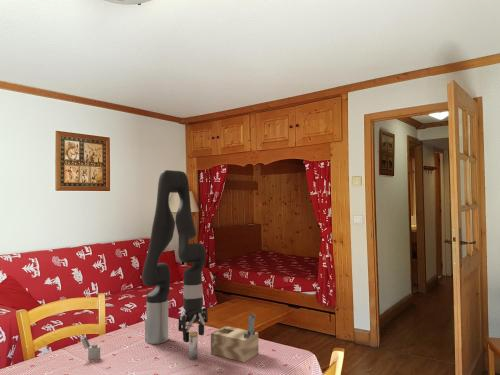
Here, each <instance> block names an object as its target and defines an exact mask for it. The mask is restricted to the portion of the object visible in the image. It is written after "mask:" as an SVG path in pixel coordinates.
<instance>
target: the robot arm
mask: <svg viewBox="0 0 500 375" xmlns="http://www.w3.org/2000/svg"><path fill="white" fill-rule="evenodd" d="M157 182H158V183H157V195H156V204H155V211H154V217H153V222H152V227H151V234H150V240H149V245H148V250H147V254H146V257H145V261H144V265H143V268H142V276H141V277H142V283H143V284H144V285H145V286H146V287H153V286H155V287H154V289H153V290H151V291H150V292H148V293H147V294H146V299H145V300H146V317H145V318H144V341H146V343H147V344H150V345H158V344H164V343H166V342H167V341H169V295H170V290H171V289H170V287H171V285H170V284H171V269H170V267H169V265H168V263H166V262H159V260H160V257H161V255H162V254H163V253H164V252H165V250H166V248H167V247H168V246H169V245H170V243H171V242H172V240H173V238H174V232H175V227H176V230H177V234H178V250H177V251H178V253H177V254H178V257H179V260H180V261H181V262H182V263H187V264H188V263H191V266H190V267H188V268H185V269H184V270H183V290H182V296H183V297H182V298H183V301H182V302H183V303H182V304H183V306H182V307H183V309H184V311H185V312H184V314H179V315H178V327H177V328H178V332H182V341H183V342H184V343H189V332H190V329H191V327H192V326H193V325H194V324H195V323H197V324H198V327H197V328H198V331H197V333H198V335H199V336H204V335H205V324H206V323H208V321H209V317H208V307H207V306H204V290H203V278H202V277H203V276H202V275H203V270H204V265H205V261H206V255H207V253H206V252H207V251H206V248H205V246H204V244H203V243H201V242H200V243H199V242H198V243H189V240H193V239H194V238H195V237H197V230H196V227H195V222H194V218H193V214H192V208H191V194H190V184H189V179H188V176H187V174H186V172H184V171H181V170H170V169H165V170H162V171H161V173H160V175H159V178H158V181H157ZM171 193H172V194H173V193H175V194H176V193H177V195H178V198H179V204H178V208H177V210H176V214H175V217H174V215H173V213H172V211H171V208H170V204H169V203H170V202H169V201H170V200H169V199H170V195H171Z"/></svg>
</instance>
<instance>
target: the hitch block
mask: <svg viewBox="0 0 500 375" xmlns="http://www.w3.org/2000/svg"><path fill="white" fill-rule="evenodd" d="M259 353H260V352H259V332H256V330H255V329H254V332H253V335H251V336H249V334H248V329H243V328H239V327H232V326H227V325H225V326H223V327H221V328H219V329H217V330H214V331H212V332H210V354H212V355H215V356H219V357H223V358H227V359H230V360H234V361H238V362H241V363H246V362H248V361H249V360H251V359H252V358H253V357H255V356H257V355H258V354H259Z"/></svg>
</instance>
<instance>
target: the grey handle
mask: <svg viewBox="0 0 500 375" xmlns="http://www.w3.org/2000/svg"><path fill="white" fill-rule="evenodd" d="M256 318H257V315H256V313H252V314H249V315H248V317H247V319H248V325H247V330H248V334H249V336H251V335H253V332H254V330H255V320H256Z"/></svg>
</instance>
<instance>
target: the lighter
mask: <svg viewBox="0 0 500 375" xmlns="http://www.w3.org/2000/svg"><path fill="white" fill-rule="evenodd" d="M80 341H81V343H82V346H83V348H84V349H85V350H88V351H87V352H88V354H87V358H88V360H99V359H101V346H98V344H97V343H92V344H91V345H90V342H89V340H88V338H87V336H84V337H82V338H81V339H80Z"/></svg>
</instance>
